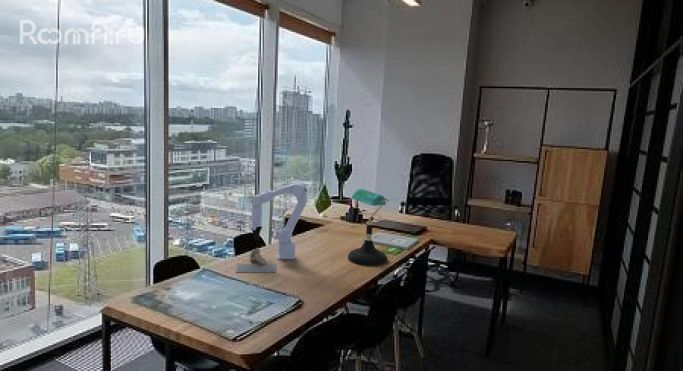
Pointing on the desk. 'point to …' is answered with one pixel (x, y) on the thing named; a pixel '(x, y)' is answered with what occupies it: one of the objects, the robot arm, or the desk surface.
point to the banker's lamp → (368, 233)
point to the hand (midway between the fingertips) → (256, 239)
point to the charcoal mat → (256, 268)
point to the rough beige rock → (257, 256)
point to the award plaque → (393, 240)
